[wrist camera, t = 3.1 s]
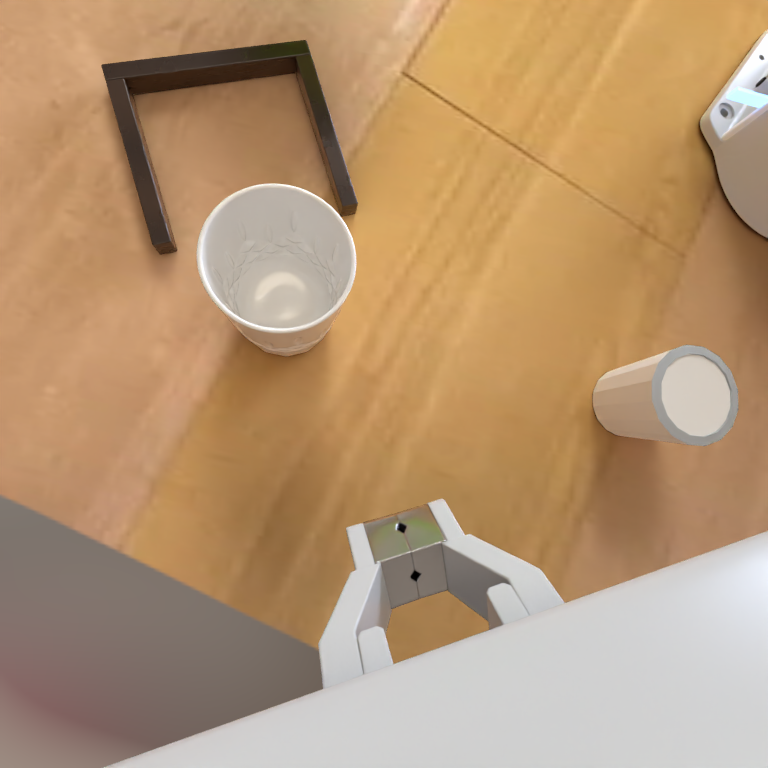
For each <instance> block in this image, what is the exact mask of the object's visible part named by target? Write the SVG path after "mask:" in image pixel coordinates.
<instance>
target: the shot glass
mask: <svg viewBox="0 0 768 768" xmlns="http://www.w3.org/2000/svg"><path fill="white" fill-rule="evenodd" d="M593 408H594V411H595V414H596V417H597V419H598V420H599V422H600V423H601V424H602V425H603V427H604V428H605V429H606V430H608V431H610V432H611V433H613V434H615V435H617V436H625V437H632V438H640V439H648V440H655V441H663V442H671V443H679V444H686V445H697V446H707V445H709V444H712V443H714V442H717V441H719V440H721V439H722V438H723V437H724V436H725V435H726V434H727V432H728V431H729V430H730V429H731V428H732V427H733V424H734V421H735V418H736V415H737V412H738V389H737V386H736V383H735V381H734V378H733V375H732V372H731V371H730V369H729V368H728V367H727V366H726V364H725V363H724V362H723V361H722V359H721V358H720V357H719V356H718V355H716V354H715V353H713V352H711V351H709V350H708V349H706V348H704V347H700V346H693V345H684V346H681V347H678V348H675V349H673V350H670V351H667V352H664V353H661V354H658V355H655V356H652V357H649V358H646V359H644V360H641V361H638V362H635V363H632V364H629V365H626V366H623V367H620V368H617V369H615V370H612V371H609V372H606V373H605V374H604V375H603V376H602V377H601V378H600V379H599V380H598V381H597V384H596V386H595V389H594V391H593Z"/></svg>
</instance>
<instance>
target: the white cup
mask: <svg viewBox="0 0 768 768" xmlns="http://www.w3.org/2000/svg"><path fill="white" fill-rule="evenodd" d="M197 266H198V271H199V275H200V278H201V281H202V283H203V285H204V288H205V289H206V291H207V293H208V295H209V296H210V298H211V299H212V300H213V302H214V303H215V304H216V305H217V306H218V307H219V309H220V310H221V311H222V312H223V313H224V315H225V316H226V317H227V318H228V319H229V321H230V322H231V323H232V324H233V325H234V326H235V327H236V328H237V329H238V330H239V331H240V332H241V333H242V334H243V335H244V336H245V337H246V338H247V339H248V340H249V341H251V342H252V343H254V344H255V345H256V346H258V347H259V348H260V349H262V350H263V351H264V352H267V353H272V354H277V355H282V356H291V355H295V354H299V353H304V352H307V351H309V350H310V349H311V348H312V347H314V346H315V345H316V344H317V343H319V342H320V341H321V340H323V339H324V337H325V335H326V333H327V332H328V331H329V329H330V328H331V326H332V325H333V323H334V321H335V320H336V318H337V316H338V315H339V313H340V311H341V308H342V306H343V304H344V302H345V300H346V298H347V296H348V294H349V292H350V290H351V288H352V285H353V282H354V278H355V273H356V252H355V247H354V243H353V239H352V237H351V234H350V232H349V230H348V228H347V226H346V224H345V223H344V221H343V220H342V218H341V217H340V216H339V214H338V213H337V212H336V211H335V210H334V209H333V208H332V207H331V206H330V205H329V204H328V203H326V202H325V201H324V200H322V199H321V198H319V197H318V196H316V195H314V194H313V193H311V192H309V191H306V190H304V189H301V188H298V187H295V186H290V185H285V184H260V185H255V186H251V187H247V188H244V189H242V190H239V191H237V192H235V193H233V194H232V195H230V196H229V197H227V198H226V199H224V200H223V201H222V202H221V203H219V204H218V205H217V206H216V207H215V208H214V210H213V211H212V212H211V213H210V215H209V216H208V218H207V219H206V221H205V223H204V225H203V227H202V229H201V232H200V235H199V239H198V244H197Z"/></svg>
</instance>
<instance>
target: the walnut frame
mask: <svg viewBox="0 0 768 768" xmlns="http://www.w3.org/2000/svg"><path fill="white" fill-rule="evenodd" d="M102 69H103V73H104V76H105V80H106V83H107V87H108V90H109V94H110V97H111V101H112V104H113V108H114V111H115V115H116V118H117V122H118V125H119V129H120V132H121V136H122V139H123V143H124V146H125V150H126V153H127V157H128V160H129V164H130V167H131V171H132V174H133V178H134V181H135V185H136V188H137V192H138V195H139V199H140V202H141V206H142V209H143V213H144V216H145V220H146V223H147V227H148V230H149V234H150V237H151V241H152V244H153V246H154V247H155V248H156V250H157V251H158V252H159V253H160V254H164V253H169V252H174V251H177V248H176V244H175V241H174V237H173V234H172V230H171V227H170V223H169V220H168V216H167V213H166V209H165V206H164V203H163V199H162V196H161V192H160V189H159V185H158V182H157V178H156V175H155V171H154V168H153V164H152V161H151V158H150V154H149V151H148V147H147V144H146V140H145V137H144V133H143V130H142V126H141V123H140V120H139V116H138V113H137V109H136V106H135V102H134V99H133V94H141V93H148V92H155V91H163V90H170V89H177V88H185V87H192V86H200V85H207V84H214V83H222V82H229V81H236V80H244V79H251V78H258V77H266V76H273V75H281V74H288V73H295V72H296V75H297V78H298V82H299V85H300V88H301V91H302V94H303V98H304V101H305V104H306V107H307V111H308V114H309V117H310V120H311V123H312V127H313V130H314V133H315V136H316V139H317V143H318V146H319V149H320V152H321V155H322V159H323V162H324V165H325V168H326V171H327V175H328V178H329V181H330V184H331V187H332V191H333V194H334V197H335V200H336V204H337V207H338V210H339V213H340V216H341V217H342V216H347V215H351V214H355V213H356V209H357V204H358V202H357V199H356V196H355V192H354V189H353V186H352V183H351V180H350V177H349V173H348V170H347V167H346V164H345V161H344V158H343V154H342V151H341V148H340V145H339V142H338V138H337V135H336V132H335V129H334V126H333V123H332V119H331V116H330V113H329V110H328V107H327V104H326V100H325V97H324V94H323V91H322V88H321V84H320V81H319V78H318V75H317V72H316V69H315V65H314V62H313V59H312V56H311V53H310V50H309V47H308V44H307V41H306V40H301V41H293V42H284V43H276V44H268V45H260V46H251V47H243V48H235V49H226V50H218V51H210V52H202V53H193V54H185V55H177V56H168V57H160V58H152V59H144V60H135V61H127V62H119V63H110V64H102Z"/></svg>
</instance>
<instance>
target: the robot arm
mask: <svg viewBox="0 0 768 768" xmlns="http://www.w3.org/2000/svg"><path fill="white" fill-rule="evenodd" d="M700 128H701V131H702V133H703V135H704V137H705V139H706V141H707V142H708V144H709V146H710V148H711V149H712V151H713V154H714V157H715V161H716V166H717V171H718V176H719V179H720V182H721V185H722V188H723V190H724V192H725V195H726V197H727V198H728V200H729V202H730V204H731V205H732V207H733V208H734V210H735V211H736V212H737V214H738V215H739V216H740V217H741V218H742V219H743V220H744V221H745V222H746V223H747V224H748V225H749V226H750V227H751V228H752V229H754V230H755V231H756V232H758V233H759V234H761V235H763V236H764V237H766V238H768V29H767V30H766V31H765V32H764V33H763V34H762V35H761V36H760V38H759V39H758V40H757V42H756V43H755V44H754V46H753V47H752V49H751V50H750V51H749V53H748V54H747V55H746V57H745V58H744V60H743V61H742V62H741V64H740V65H739V66H738V68H737V69H736V71H735V72H734V73H733V75H732V76H731V77H730V79H729V80H728V82H727V83H726V84H725V86H724V87H723V88H722V90H721V91H720V93H719V94H718V95H717V97H716V98H715V99H714V101H713V102H712V104H711V105H710V106H709V108H708V109H707V110H706V112H705V113H704V115H703V116H702V117H701V120H700ZM346 532H347V536H348V541H349V545H350V549H351V553H352V557H353V562H354V566H355V571H352V572H350V575H349V577H348V579H347V581H346V584H345V586H344V588H343V590H342V592H341V595H340V597H339V599H338V601H337V604H336V606H335V608H334V610H333V612H332V615H331V617H330V619H329V621H328V624H327V626H326V628H325V630H324V632H323V635H322V637H321V639H320V641H319V644H318V646H319V655H320V664H321V673H322V682H323V689H322V690H319V691H316V692H314V693H311V694H308V695H305V696H302V697H300V698H297V699H294V700H291V701H288V702H286V703H283V704H280V705H277V706H274V707H272V708H269V709H266V710H263V711H260V712H257V713H255V714H252V715H249V716H246V717H243V718H241V719H238V720H235V721H232V722H229V723H227V724H224V725H221V726H218V727H215V728H213V729H210V730H207V731H204V732H201V733H199V734H196V735H193V736H190V737H187V738H185V739H182V740H179V741H176V742H173V743H171V744H168V745H165V746H162V747H159V748H157V749H154V750H151V751H148V752H145V753H142V754H140V755H137V756H134V757H131V758H128V759H126V760H123V761H120V762H117V763H114V764H112V765H109V766H106V767H103V768H768V531H766V532H763V533H760V534H757V535H755V536H752V537H749V538H746V539H743V540H741V541H738V542H735V543H732V544H729V545H727V546H724V547H721V548H718V549H715V550H713V551H710V552H707V553H704V554H701V555H699V556H696V557H693V558H690V559H687V560H684V561H682V562H679V563H676V564H673V565H670V566H668V567H665V568H662V569H659V570H656V571H654V572H651V573H648V574H645V575H642V576H640V577H637V578H634V579H631V580H628V581H626V582H623V583H620V584H617V585H614V586H611V587H609V588H606V589H603V590H600V591H597V592H595V593H592V594H589V595H586V596H583V597H581V598H578V599H575V600H572V601H569V602H566V603H565V602H564V601H563V600H562V598H561V597H560V596H559V594H558V593H557V591H556V590H555V589H554V587H553V586H552V584H551V583H550V582H549V580H548V579H547V577H546V576H545V575H544V573H543V572H542V570H541V569H539V568H537V567H535V566H533V565H531V564H529V563H527V562H525V561H523V560H521V559H519V558H517V557H515V556H513V555H511V554H509V553H507V552H505V551H503V550H501V549H499V548H497V547H495V546H493V545H491V544H489V543H487V542H485V541H483V540H481V539H479V538H477V537H475V536H473V535H471V534H468V535H465V534H464V533H463V531H462V529H461V528H460V526H459V524H458V522H457V521H456V519H455V517H454V515H453V514H452V512H451V510H450V509H449V507H448V505H447V503H446V502H445V500H444V499H439V500H436V501H432V502H429V503H427V504H424V505H420V506H417V507H414V508H411V509H408V510H404V511H401V512H398V513H395V514H392V515H388V516H384V517H381V518H377V519H373V520H370V521H366V522H363V523H361V524H357V525H353V526H349V527H346ZM446 590H448V591H449V592H450V593H451V594H453V595H454V596H455V597H457V598H458V599H459V600H461V601H462V602H463V603H465V604H466V605H467V606H469V607H470V608H471V609H473V610H474V611H475V612H477V613H478V614H479V615H481V616H482V617H483V618H485V619H486V620H487V621H489V630H488V631H485V632H482V633H479V634H477V635H474V636H471V637H468V638H465V639H462V640H460V641H457V642H454V643H451V644H448V645H446V646H443V647H440V648H437V649H434V650H432V651H429V652H426V653H423V654H420V655H418V656H415V657H412V658H409V659H406V660H403V661H401V662H398V663H395V664H393V661H392V657H391V654H390V650H389V647H388V643H387V639H386V636H385V635H386V631H387V628H388V624H389V620H390V616H391V612H392V610H391V609H393V608H396V607H398V606H401V605H404V604H407V603H409V602H412V601H415V600H417V599H420V598H424V597H427V596H430V595H433V594H437V593H440V592H443V591H446Z"/></svg>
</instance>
